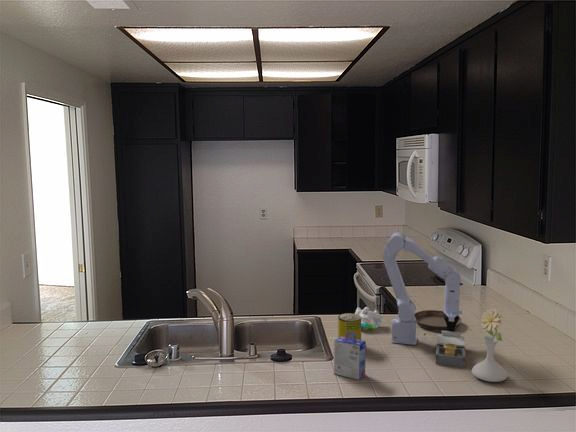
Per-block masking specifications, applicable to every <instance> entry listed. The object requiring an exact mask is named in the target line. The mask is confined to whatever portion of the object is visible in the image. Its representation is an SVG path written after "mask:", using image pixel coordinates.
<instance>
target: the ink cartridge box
mask: <svg viewBox="0 0 576 432" xmlns="http://www.w3.org/2000/svg"><path fill="white" fill-rule="evenodd" d="M348 335H353V336H354V338H353V337H348ZM333 345H334V349H333V350H334V351H333V352H334V353H333V354H334V355H333V357H334V360H333V375H339V376H342V377H346V378H350V379H355V380H361V379H362V378H363V377H365V376H366V354H367V353H366V351H367V348H366V345H367V344H366V340H363V339H361V340H357V339H356V333H351V332H347V335H346V337H339V338H338V337H337V338H336V339H335V340H334V344H333Z"/></svg>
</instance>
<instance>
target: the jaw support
mask: <svg viewBox="0 0 576 432" xmlns="http://www.w3.org/2000/svg"><path fill="white" fill-rule="evenodd" d="M354 314H357V315H360V316H361V327H363V328H369V329H371V330H376V328H379V327H380V326H381V323H382V320H383V315H382V314H380V313H379V310H377V309H375V310H374V311H371V310H370V307H368V306H365V307H364V308H363V309H362V308H361V307H359V306H357V308H356V309H355V312H354ZM372 321H373V322H374V323H371V322H372ZM373 328H374V329H373Z"/></svg>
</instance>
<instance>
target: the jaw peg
mask: <svg viewBox="0 0 576 432" xmlns="http://www.w3.org/2000/svg"><path fill="white" fill-rule="evenodd" d="M444 349H445V355H452V356H455V350H456V345H455V344H451V343H446V344H444Z"/></svg>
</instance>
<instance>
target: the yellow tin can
mask: <svg viewBox="0 0 576 432" xmlns="http://www.w3.org/2000/svg"><path fill="white" fill-rule="evenodd" d="M337 320H338V321H337V324H338V325H337V329H338V330H337V332H338V334H337V339H338V338H339V337H346V335H347V332H351V333H356V339H357V340H362V326H361V316H360V315H357V314H355V313H351V312H349V313H348V312H347V313H345V312H344V313H341V314H339V315H338V319H337ZM348 337H353V338H354V336H353V335H348Z"/></svg>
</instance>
